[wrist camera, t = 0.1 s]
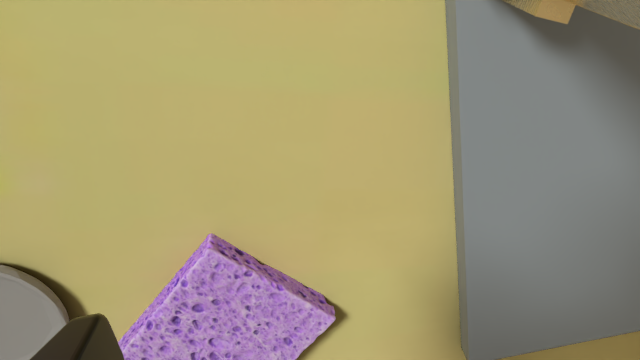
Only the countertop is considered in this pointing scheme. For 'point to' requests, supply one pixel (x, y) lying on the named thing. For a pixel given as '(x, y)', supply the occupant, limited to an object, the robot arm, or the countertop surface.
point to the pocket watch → (27, 314)
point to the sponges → (228, 312)
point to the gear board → (544, 177)
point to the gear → (558, 4)
